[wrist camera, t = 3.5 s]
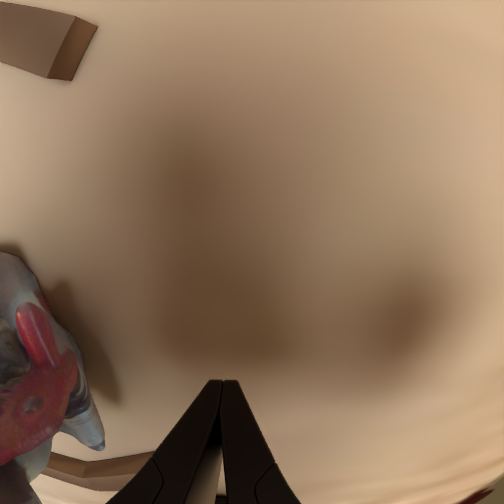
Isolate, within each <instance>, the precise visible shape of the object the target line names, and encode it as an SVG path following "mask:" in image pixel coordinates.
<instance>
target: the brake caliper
mask: <svg viewBox="0 0 504 504" xmlns="http://www.w3.org/2000/svg"><path fill="white" fill-rule="evenodd" d="M59 431H62V432H64V433H67V434H69V435H72V436H74V437H75V438H76V439H77V440H78V441H79V442H81V443H82V444H84V445H86V446H87V447H89V448H91V449H93V450H96V451H102V450H103V449H104V448H105V440H104V438H105V432H104V427H103V424H102V421H101V419H100V416H99V413H98V411H97V408H96V406H95V404H94V401H93V399H92V396H91V393H90V390H89V386H88V383H87V379H86V376H85V372H84V364H83V357H82V354H81V352H80V349H79V348H78V346H77V344H76V342H75V340H74V338H73V336H72V334H71V333H70V332H69V331H68V330H67V329H65V328H64V327H62V326H61V325H60V324H58V323H57V322H56V321H55V319H54V318H53V316H52V314H51V312H50V309H49V307H48V305H47V303H46V301H45V299H44V297H43V295H42V293H41V291H40V289H39V284H38V281H37V279H36V276H35V275H34V274H33V273H32V271H31V270H29V269H28V268H27V267H26V266H25V264H24V263H23V262H22V261H21V260H20V259H19V257H18V256H15V255H10V254H8V253H5V252H0V504H42V503H41V501H40V499H39V498H38V496H37V495H36V493H35V492H34V490H33V489H32V487H31V485H30V484H29V483H30V482H31V481H32V480H34V479H35V478H36V477H37V476H38V475H39V474H40V473H41V472H42V471H44V470H45V468H46V466H47V464H48V461H49V457H50V454H51V447H52V439H53V436H54V435H55V434H56V433H58V432H59Z"/></svg>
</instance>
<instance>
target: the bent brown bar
mask: <svg viewBox="0 0 504 504" xmlns="http://www.w3.org/2000/svg"><path fill="white" fill-rule="evenodd" d="M97 27H98V26H95V25H93V24H91V23H89V22H87V21H85V20H83V19H80V18H78V17H76V16H72V15H68V14H64V13H60V12H55V11H51V10H46V9H41V8H36V7H30V6H25V5H19V4H12V3H5V2H0V62H2V63H5V64H8V65H11V66H14V67H17V68H20V69H22V70H25V71H28V72H31V73H33V74H36V75H39V76H42V77H44V78H49V79H60V80H70V81H71V80H72V78H73V75H74V73H75V71H76V69H77V67H78V64H79V62H80V60H81V58H82V56H83V54H84V52H85V50H86V48H87V46H88V44H89V42H90V40H91V38H92V36H93V34H94V32H95V30H96V28H97ZM153 453H154V452H150V453H145V454H139V455H134V456H128V457H122V458H116V459H109V460H102V461H94V462H84V461H80V460H77V459H73V458H69V457H66V456H62V455H59V454H56V453H52V452H51V454H50V457H49V461H48V464H47V466H46V468H45V470H44V471H42V472H41V474H44V475H47V476H49V477H52V478H55V479H58V480H61V481H64V482H67V483H71V484H74V485H77V486H81V487H84V488H88V489H91V490H95V491H97V490H98V491H120V490H121V489H122V488H123V487H124V486H125V485H126V484H127V483H128V482H129V481H130V480H131V479H132V478H133V477H134V476H135V475H136V474H137V473H138V471H139V470H140V469H141V468H142V467H143V466H144V464H145V463H146V462H147V461H148V459H149V458H150V457H152V454H153ZM152 458H153V457H152Z"/></svg>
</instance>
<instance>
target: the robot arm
mask: <svg viewBox="0 0 504 504" xmlns="http://www.w3.org/2000/svg"><path fill="white" fill-rule="evenodd" d="M152 457H153V458H152ZM152 457H150V458H149V459H148V461H147V462H146V463H145V464H144V466H143V467H142V468H141V469H140V470H139V471H138V473H137V474H136V475H135V476H134V477H133V478H132V479H131V480H130V481H129V482H128V483H127V484H126V485H125V486H124V487H123V488H122V489H121V490H120V491H119V492H118V493H117V494H116V495H114V496H113V497H112V498H111V499H110V500H109V501H108V502H107V503H106V504H301V503H300V501H299V500H298V499H297V497H296V496H295V494H294V493H293V491H292V490H291V488H290V487H289V485H288V484H287V482H286V480H285V478H284V476H283V475H282V473H281V471H280V469H279V467H278V465H277V463H275V459H274V457H273V455H272V453H271V451H270V449H269V447H268V445H267V443H266V441H265V439H264V437H263V434H262V432H261V430H260V428H259V426H258V424H257V422H256V420H255V417H254V415H253V413H252V411H251V409H250V407H249V404H248V402H247V400H246V398H245V396H244V393H243V391H242V389H241V387H240V384H239V382H238V381H237V380H224V381H223V380H209V381H208V382H207V384H206V385H205V386H204V388H203V389H202V390H201V392H200V393H199V395H198V396H197V397H196V399H195V400H194V401H193V403H192V404H191V405H190V406H189V408H188V409H187V410H186V412H185V413H184V414H183V416H182V417H181V418H180V420H179V421H178V422H177V424H176V425H175V426H174V427H173V429H172V430H171V431H170V433H169V434H168V435H167V437H166V438H165V439H164V440H163V442H162V443H161V444H160V446H159V447H158V448H157V449H156V451H155V452H154V453H153V454H152ZM222 457H223V464H224V474H225V485H226V494H227V498H216V492H217V486H218V481H219V475H220V469H221V463H222Z"/></svg>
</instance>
